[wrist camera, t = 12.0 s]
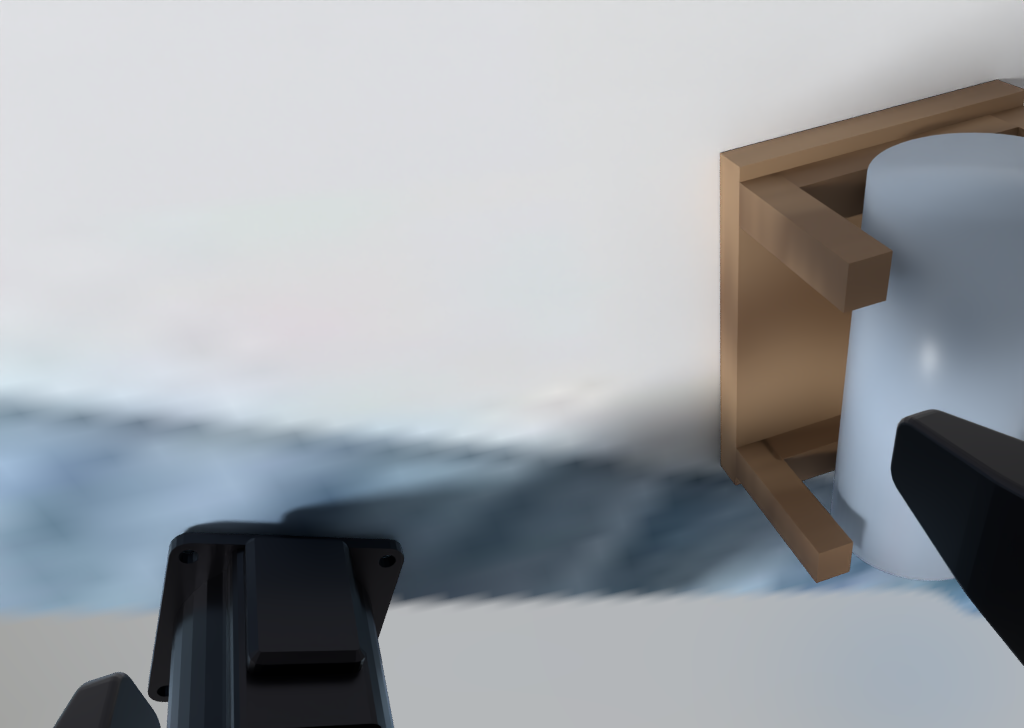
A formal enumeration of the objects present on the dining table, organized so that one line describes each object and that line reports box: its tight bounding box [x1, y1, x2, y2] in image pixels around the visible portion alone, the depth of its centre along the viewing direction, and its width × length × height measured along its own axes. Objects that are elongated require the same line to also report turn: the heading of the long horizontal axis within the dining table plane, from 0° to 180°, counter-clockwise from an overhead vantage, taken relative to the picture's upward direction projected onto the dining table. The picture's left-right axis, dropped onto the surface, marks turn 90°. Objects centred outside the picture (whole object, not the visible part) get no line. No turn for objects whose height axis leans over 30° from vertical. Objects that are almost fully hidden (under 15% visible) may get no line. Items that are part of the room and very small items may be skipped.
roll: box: [831, 133, 1024, 581], centre depth 21 cm, size 11×4×4 cm, turn 9°
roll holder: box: [720, 80, 1024, 583], centre depth 23 cm, size 11×8×6 cm
